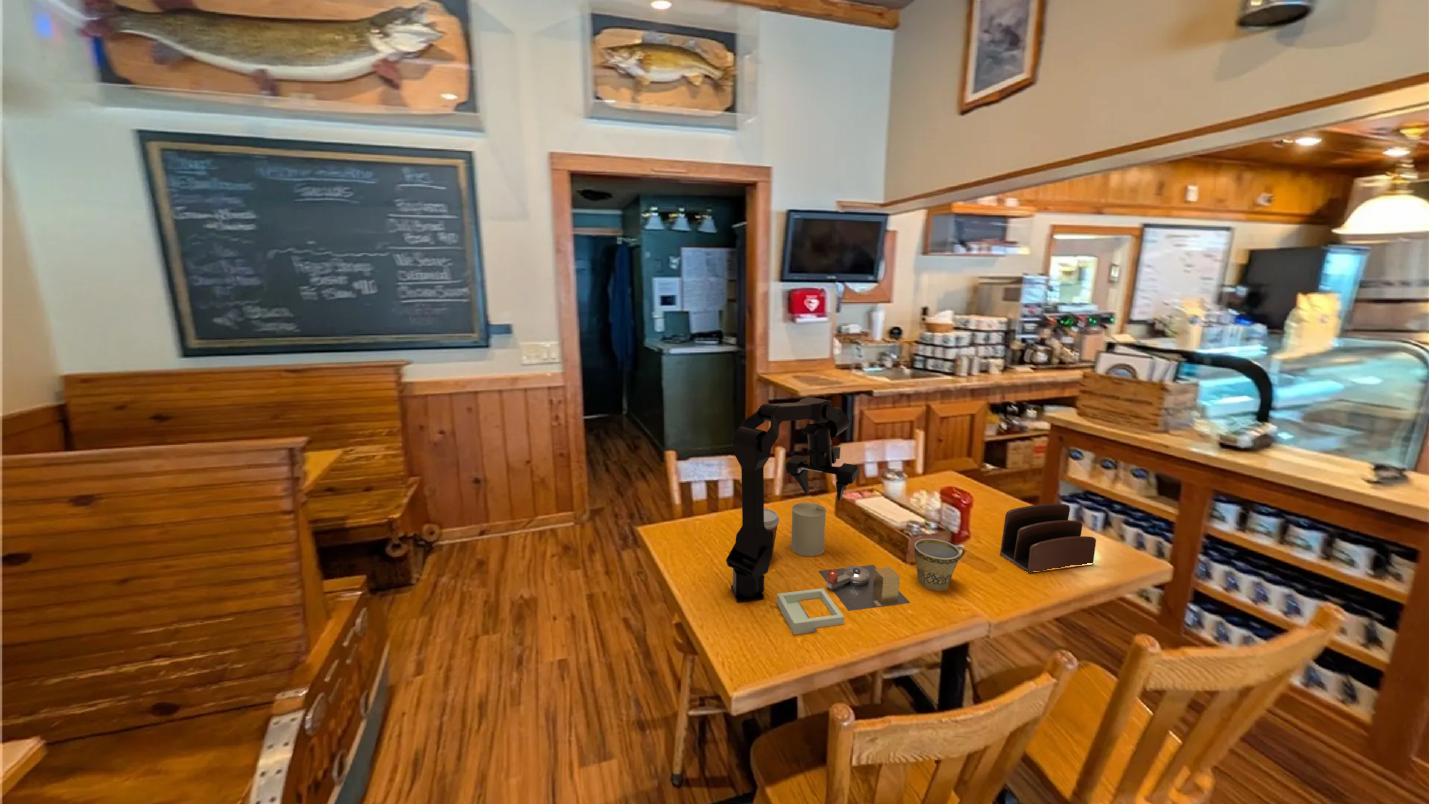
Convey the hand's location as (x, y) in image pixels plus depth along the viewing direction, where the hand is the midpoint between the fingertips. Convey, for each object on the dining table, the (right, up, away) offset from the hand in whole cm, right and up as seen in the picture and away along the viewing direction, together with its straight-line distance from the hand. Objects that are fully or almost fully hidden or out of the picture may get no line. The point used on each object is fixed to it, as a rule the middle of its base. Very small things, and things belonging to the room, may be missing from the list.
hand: (823, 496), depth 142 cm
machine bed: (+6, -19, -17) cm, 26 cm away
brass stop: (+10, -19, -21) cm, 30 cm away
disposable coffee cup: (-17, -16, -1) cm, 23 cm away
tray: (-9, -21, -27) cm, 35 cm away
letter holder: (+58, -17, -3) cm, 60 cm away
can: (-4, -15, +3) cm, 16 cm away
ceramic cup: (+25, -19, -15) cm, 34 cm away
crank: (+2, -17, -16) cm, 23 cm away
